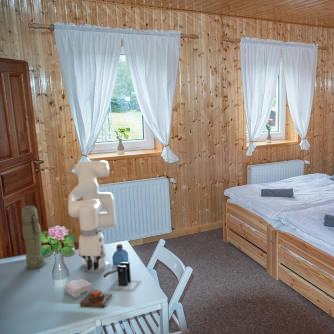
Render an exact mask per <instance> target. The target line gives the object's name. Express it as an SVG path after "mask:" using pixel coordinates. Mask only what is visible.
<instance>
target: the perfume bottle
mask: <svg viewBox="0 0 334 334" xmlns="http://www.w3.org/2000/svg"><path fill="white" fill-rule="evenodd" d="M115 248H116V250H115V251H114V253H113V254H112V256H111V257H112V258H111V259H112V260H111V261H112V266H121V262H129V263H130V261H129V260H130V259H129V252H128V251H127V250H126V249H124V247H123V244H122V243H119V244H117V245H116V247H115Z"/></svg>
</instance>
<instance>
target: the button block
mask: <svg viewBox="0 0 334 334" xmlns="http://www.w3.org/2000/svg"><path fill="white" fill-rule="evenodd" d="M99 291H100V295H99V296H97V297H92V291H91V292H90V291H89V293H87V295H86V296H85V297H83V299H82V300H81V301H80V302H79V306H80V307H81V308H93V309H104V308H105V306H106V303H107V302H108V300H110V298H111V297H113V296H112V295H113V294H112V293H109V292H108V293H107V292H104V291H102V290H99Z"/></svg>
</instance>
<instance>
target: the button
mask: <svg viewBox="0 0 334 334" xmlns="http://www.w3.org/2000/svg"><path fill="white" fill-rule="evenodd" d="M100 291H101V290H99V289H93V290H91V293H92V297H97V296H99V295H100Z"/></svg>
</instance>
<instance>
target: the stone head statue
mask: <svg viewBox="0 0 334 334" xmlns="http://www.w3.org/2000/svg"><path fill="white" fill-rule="evenodd" d="M20 215H21V221H22V228H21V230H22V237H23V240H24V245H25V252H26V254H25V260H26V264H27V269H29V270H35V269H39V268H41V267H44V266H45V264H46V263H45V257H44V258H43V257H42V256H41V255H40V249H41V247H42V248H43V244H42V240H41V241H40V240H39V235H40V234H41V235H42V230H41V225H40V223H39V217H38V216H39V215H38V209H37V208H36V206H35V205H31V204H30V205H25V206H23V207H22V209H21V214H20Z"/></svg>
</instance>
